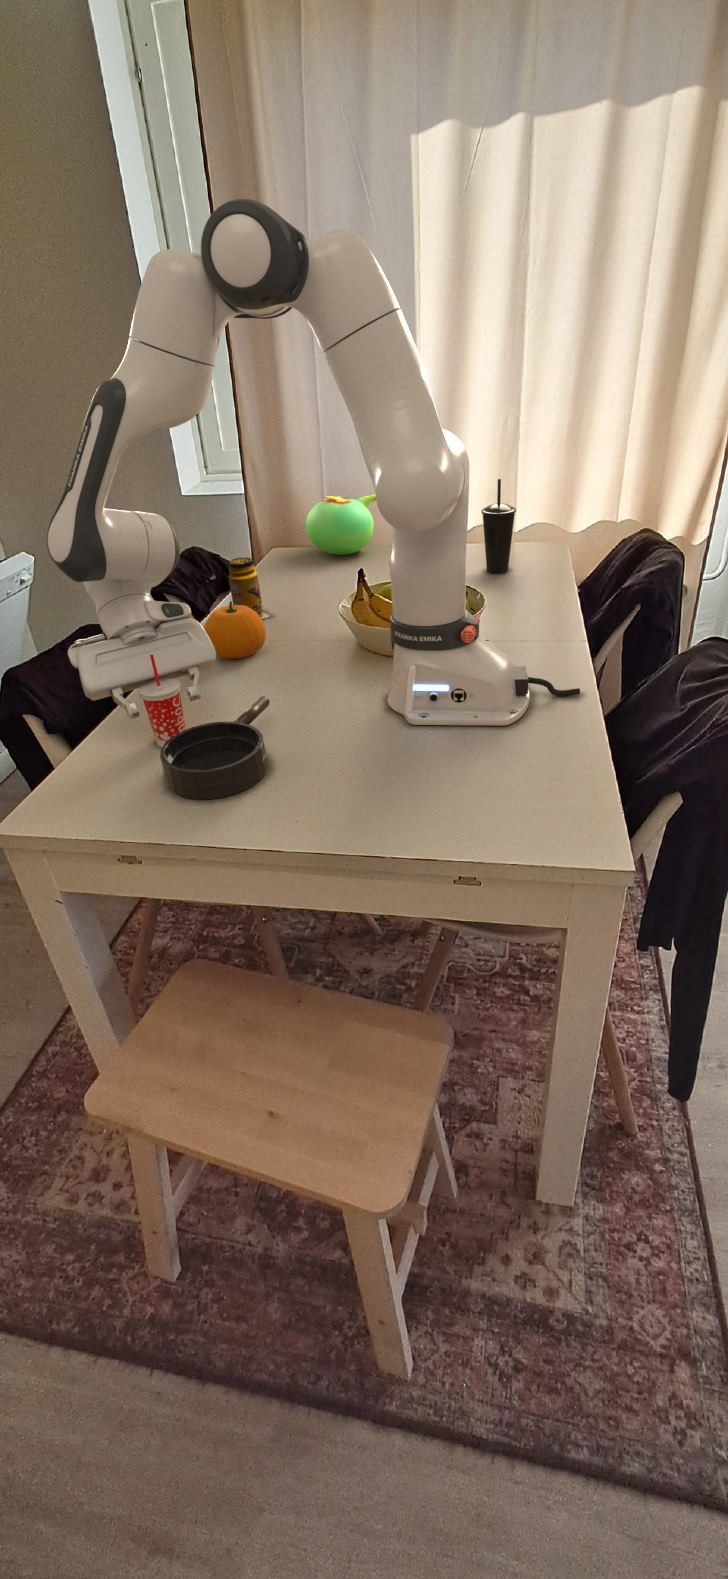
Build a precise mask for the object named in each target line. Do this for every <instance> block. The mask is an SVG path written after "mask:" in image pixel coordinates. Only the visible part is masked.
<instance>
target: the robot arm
mask: <svg viewBox="0 0 728 1579" xmlns="http://www.w3.org/2000/svg"><path fill="white" fill-rule="evenodd" d="M292 309H294V310H296V311H297V312H299V313H300V315H302V317H303V318H304V319H305V321H306V322H307V324H308V325H309V327H310V329H311V331H312V333H313V335H314V337H315V338H316V341H317V343H318V346H319V348H320V351H321V353H322V354H323V357H324V359H325V362H326V364H327V366H328V368H329V371H330V372H331V374H332V377H333V380H334V381H335V384H336V385H337V388H338V390H339V392H340V394H341V396H342V399H343V401H344V403H345V405H346V406H345V407H346V408H347V410H348V412H349V415H350V418H351V420H352V423H353V427H354V429H355V432H356V436H357V439H358V444H359V447H360V449H361V453H362V456H363V460H364V464H365V466H366V469H367V471H368V475H369V477H370V480H371V483H372V486H373V489H374V494H375V495H376V500H375V502H376V505H377V508H378V511H379V513H380V514H381V516H382V518H383V519H384V520H385V521H386V522H387V523H388V524H389V525H390V526H392V534H391V549H390V560H389V574H390V575H389V576H390V595H391V608H392V609H391V610H392V613H391V614H390V616H389V639H390V642H391V649H392V651H393V653H392V654H393V655H392V656H393V657H392V672H391V680H390V686H389V690H388V694H387V699H386V700H387V704H388V706H389V707H390V708H391V709H392V710H393V711H395V712H397V713H398V714H400V715H402V716H403V717H404V718H405V720H406V721H407V723H409V724H410V725H414V726H493V727H494V726H495V727H496V726H509V725H512V724H513V723H515V722H516V721H518V720H519V719H521V718H522V717H523V715H524V714H525V713H526V711H527V710H528V708H529V706H530V702H531V694H530V688H529V684H533V685H538V686H539V685H540V686H543V687H545V688H546V689H547V690H548V692H549V694H551V695H553V696H557V697H569V696H576V695H577V696H578V695H581V688H579V687H578V688H577V687H575V688H570V689H563V690H562V689H556V688H555V687H554V685H553V684H552V683H551V682H550V681H548V680H546V679H543V678H539V677H532V676H529V675H528V672H527V668H526V666H524V665H523V666H514V665H513V662H512V659H511V658H510V657H509V656H508V655H507V654H506V653H504V652H503V651H501V650H500V649H498V648H497V647H496V646H494V645H493V644H491V643H490V642H489V641H487V640H486V639H485V638H483V637H482V636H481V635H480V623H481V613H477V614H476V616H475V615H473V614H472V613H471V612H469V610H468V609H466V608H467V586H466V585H467V584H466V583H467V582H466V581H467V580H466V579H467V575H466V574H467V573H466V572H467V571H466V570H467V568H466V567H467V565H466V564H467V540H468V523H469V502H470V501H469V500H470V498H469V497H470V460H469V455H468V453H467V452H468V451H467V449H466V448H465V445H464V444H463V442H462V441H461V440H460V439H459V438H458V437H457V436H456V435H455V434H453V433H452V432H450V431H449V430H447V429H444V428H443V427H442V424H441V421H440V417H439V413H438V411H437V408H436V405H435V401H434V396H433V395H432V390H431V387H430V383H429V378H428V374H427V370H426V368H425V365H424V363H423V361H422V358H421V356H420V353H419V351H418V349H417V346H416V343H415V341H414V338H413V337H412V336H413V335H412V334H411V331H410V329H409V326H408V324H407V321H406V319H405V317H404V315H403V312H402V309H401V307H400V305H399V302H398V300H397V298H396V295H395V293H394V291H393V289H392V287H391V285H390V283H389V281H388V279H387V277H386V275H385V273H384V271H383V269H382V267H381V266H380V264H379V262H378V261H377V259H376V258H375V255H374V254H373V252H372V251H371V250H370V247H369V246H368V244H367V243H366V242H365V240H364V239H363V238H362V237H361V236H360V235H359V234H358V233H356V232H355V231H352V230H350V229H333V230H330V231H327V232H325V233H323V234H321V235H319V236H317V237H315V238H313V239H309V240H307V238H306V236H305V235H304V233H303V232H301V231H300V230H298V229H297V228H296V227H294V225H292V224H291V223H290V222H289V221H287V220H286V219H285V218H284V217H282V216H281V215H280V214H279V213H277V212H276V210H273V209H272V208H271V207H269V206H268V205H267V204H264V203H262V202H261V201H258V200H255V199H251V198H236V199H235V198H234V199H230V200H228V201H226V202H224V203H222V204H220V205H219V206H218V207H217V208H216V209H215V210H214V211H213V212H212V213H211V214H210V216H209V217H208V218H207V221H206V222H205V225H204V227H203V230H202V233H201V239H200V253H194V252H192V251H189V250H185V249H181V248H168V249H164V250H160V251H158V252H157V253H155V254H154V255H153V256H152V257H151V258H150V260H149V262H148V264H147V266H146V269H145V272H144V275H143V278H142V281H141V284H140V287H139V290H138V293H137V298H136V302H135V306H134V310H133V315H132V320H131V325H130V331H129V338H128V343H127V347H126V350H125V352H124V353H125V354H124V356H123V358H122V361H121V362H120V364H119V367H118V368H117V370H116V371H115V373H114V374H113V375H112V376H111V377H110V378H109V379H107V380H105V381H102V382H101V383H100V384H99V385H98V387H97V388H96V390H95V392H94V394H93V396H92V399H91V401H90V404H89V407H88V410H87V413H86V416H85V419H84V421H83V426H82V428H81V432H80V436H79V439H78V442H77V445H76V448H75V452H74V455H73V459H72V463H71V466H70V469H69V473H68V476H67V480H66V483H65V486H64V489H63V492H62V496H61V498H60V499H59V503H58V504H57V506H56V509H55V511H54V513H53V515H52V517H51V519H50V521H49V524H48V528H47V532H46V546H47V552H48V555H49V558H50V559H51V560H52V562H53V563H54V564H55V566H56V567H57V568H58V569H59V570H60V571H61V572H62V573H63V574H64V576H66V577H67V578H69V579H71V580H72V581H74V582H77V583H83V585H84V588H85V590H86V594H87V595H88V597H89V598H90V599H91V601H92V602H93V603H94V606H95V614H96V618H97V621H98V623H99V625H100V628H101V631H102V633H100V634H98V635H93V636H90V637H88V638H81V639H77V640H75V641H74V643H72V644H71V645H70V646H69V647H68V649H67V657H68V659H69V662H70V664H71V666H72V667H73V668H75V669H77V670H78V674H79V679H80V683H81V687H82V690H83V693H84V696H85V697H86V698H87V699H89V700H91V701H98V700H101V699H105V698H108V697H111V698H112V700H113V702H114V703H115V704H116V705H118V706H119V707H120V708H122V709H123V710H125V712H126V714H127V717H128V719H129V720H132V719H136V718H139V717H140V710H139V708H138V705H137V702H131V703H130V702H129V700H127V699H125V698H124V693H127V692H131V691H134V690H139V688H140V687H141V686H142V685H143V684H145V683H147V682H150V681H153V680H156V679H155V674H154V670H153V666H152V662H151V658H150V655H153V656H154V660H155V664H156V669H157V673H158V677H159V679H165V678H169V679H175V680H176V679H178V678H182V677H187V678H188V681H192V684H191V686H188V687H187V688H186V695H187V696H188V697H189V701H190V702H194V701H198V700H201V697H202V695H201V692H200V690H199V687H198V684H199V678H200V672H204V671H207V670H210V669H212V668H213V667H214V665H215V663H216V661H217V660H216V659H217V656H216V651H215V649H214V646H213V644H212V642H211V640H210V638H209V637H208V635H207V633H206V631H205V630H204V626H203V625H202V624H201V623H200V622H199V621H198V620H196V619H194V618H192V610H191V607H190V605H188V603H185V602H173V601H172V602H171V601H161V600H160V601H159V600H155V599H154V598H153V597H152V595H151V590H152V589H153V588H156V587H158V586H159V585H161V584H162V583H163V582H164V581H165V580H166V579H167V578H168V577H169V576H170V575H171V574H172V573H173V572H174V571H175V569H176V568H177V566H178V563H179V562H180V558H181V548H180V542H179V538H178V535H177V533H176V530H175V528H174V527H173V525H172V523H171V522H170V521H169V520H168V518H166V517H165V516H164V515H162V514H156V513H153V512H146V511H145V512H144V511H138V510H137V511H135V510H123V509H122V510H121V509H112V508H105V507H106V503H107V499H108V497H109V493H110V490H111V486H112V485H113V484H112V483H113V480H114V478H115V474H116V471H117V467H118V465H119V461H120V459H121V456H122V454H123V453H124V451H125V450H126V448H127V447H128V446H129V445H130V444H132V443H133V442H134V441H136V440H137V439H139V438H142V437H144V436H147V435H149V434H151V433H156V432H158V431H163V430H167V429H168V430H169V429H172V428H173V429H174V428H175V427H179V426H182V425H183V424H186V423H188V422H189V421H190V420H192V419H194V418H195V417H196V416H197V415H199V413H200V412H201V411H202V410H203V409H204V407H205V405H206V403H207V401H208V398H209V395H210V392H211V389H212V384H213V380H214V373H215V369H216V365H217V364H216V363H217V360H218V359H217V358H218V354H219V348H220V344H221V339H222V335H223V332H224V331H225V327H226V326H227V324H228V323H229V321H231V320H232V319H233V318H234V319H259V320H267V319H274V318H278V317H281V316H283V315H285V314H287V313H289V312H290V311H291V310H292Z"/></svg>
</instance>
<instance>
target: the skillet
mask: <svg viewBox="0 0 728 1579" xmlns="http://www.w3.org/2000/svg"><path fill="white" fill-rule="evenodd" d="M230 725H231V726H240V728H239V727H237V729H238V728H239V729H241V733H238V731H239V730H238V731H237V733H236V732H235V731H234V732H233V731H232V732H231V730H232V729H230V728H231V727H230ZM185 729H186V728H185ZM234 730H235V729H234ZM266 751H267V750H266V746H265V740H264V735H263V733H262V732H261V731H260V730H259V729H258V728H256V727H255V726H253V725H251V724H249V725H248V724H245V723H241V722H233V721H215V722H207V723H201V724H199V725H195V726H192V727H189V728H187V729H186V730H184V731H182V732H180V733H178V734H176V735H175V736H173V737H171V738H170V739H169V740H168V741H167V742H166V743H165V744H164V745H163V747H161V748H160V752H159V753H160V754H159V758H160V762H161V763H160V764H161V766H162V770H163V774H164V779H165V783H166V784H167V787H168V788H169V789H170V790H171V792H174V794H176V795H179V796H182V797H186V798H189V799H190V798H191V799H197V800H198V799H199V800H201V799H203V800H205V799H207V800H208V799H209V800H210V799H215V798H223V797H227V796H230V795H234V794H237V793H240V792H242V791H244V790H246V789H249V788H251V787H252V786H253V785H255V784H256V783H257V782H259V781H260V780H261V779H262V778H263V777H264V776H265V775H266V772H267V770H268V767H269V765H268V758H267V752H266Z"/></svg>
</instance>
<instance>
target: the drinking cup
mask: <svg viewBox="0 0 728 1579" xmlns="http://www.w3.org/2000/svg"><path fill="white" fill-rule="evenodd" d="M501 490H502V478H498V479H497V496H496V498H497V499H496V500H497V502H496V503H492V504H489V505H488V506H485V507H484V508H482V509H481V510H480V512H481V514H482V524H483V537H484V549H485V550H484V551H485V562H486V565H485V566H486V572H487V573H489V574H494V575H495V574H497V575H498V574H505V573H507V572H508V571H509V564H510V557H511V549H512V548H511V547H512V539H513V533H514V532H513V530H514V523H515V522H514V521H515V515H516V512H517V508H516V507H515V506H512V505H510V504H508V503H503V502H501V500H502V498H501V496H502V495H501V494H502V493H501V492H502V491H501Z"/></svg>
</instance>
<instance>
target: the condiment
mask: <svg viewBox="0 0 728 1579" xmlns="http://www.w3.org/2000/svg"><path fill="white" fill-rule="evenodd" d="M227 566H228V572H229V574H228V582H229V587H230V594H231V601H232V605H244V606H247V607H249V608H250V609H252V610H254V611H255V612H256V613H257V614H258V615H259V616H260V617H261V619H262V620H263V619H266V618H269V617H271V615H270V614H268V613H266V612H264V609H263V601H262V595H261V589H260V583H259V574H258V572H257V571H256V567H255V561H254V559H253V558H252V557H248V556H247V557H246V556H245V557H236V558H232V559H230V560H229V561H228V563H227Z"/></svg>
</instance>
